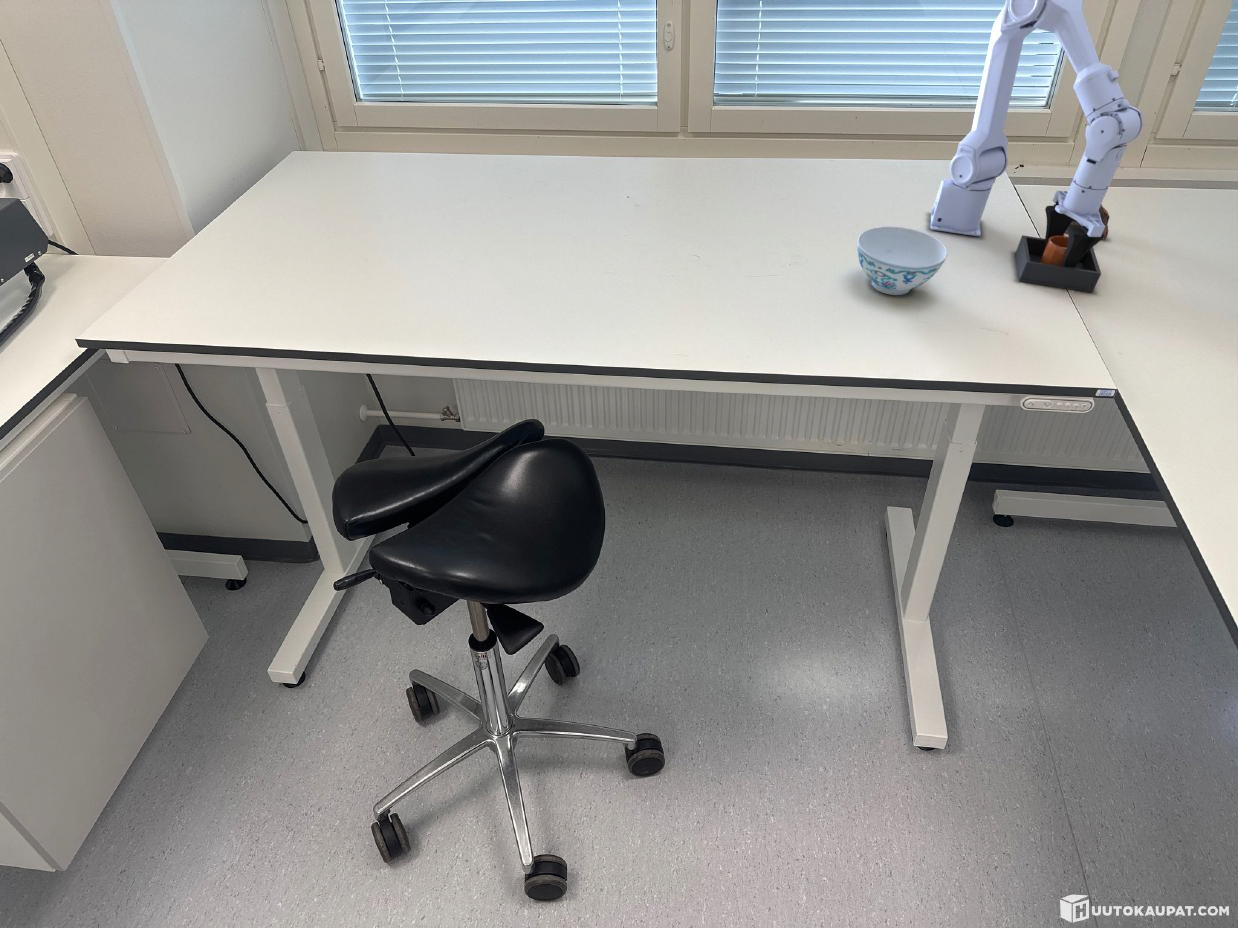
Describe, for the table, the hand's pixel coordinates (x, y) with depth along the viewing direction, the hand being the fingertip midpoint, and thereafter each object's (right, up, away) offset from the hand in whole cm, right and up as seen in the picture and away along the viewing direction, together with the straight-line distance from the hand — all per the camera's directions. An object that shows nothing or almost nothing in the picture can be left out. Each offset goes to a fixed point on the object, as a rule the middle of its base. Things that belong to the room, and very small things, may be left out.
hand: (1059, 256), depth 146 cm
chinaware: (-32, -6, -3) cm, 33 cm away
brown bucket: (0, -2, +2) cm, 3 cm away
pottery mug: (+12, +8, +15) cm, 21 cm away
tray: (0, -3, +2) cm, 3 cm away
